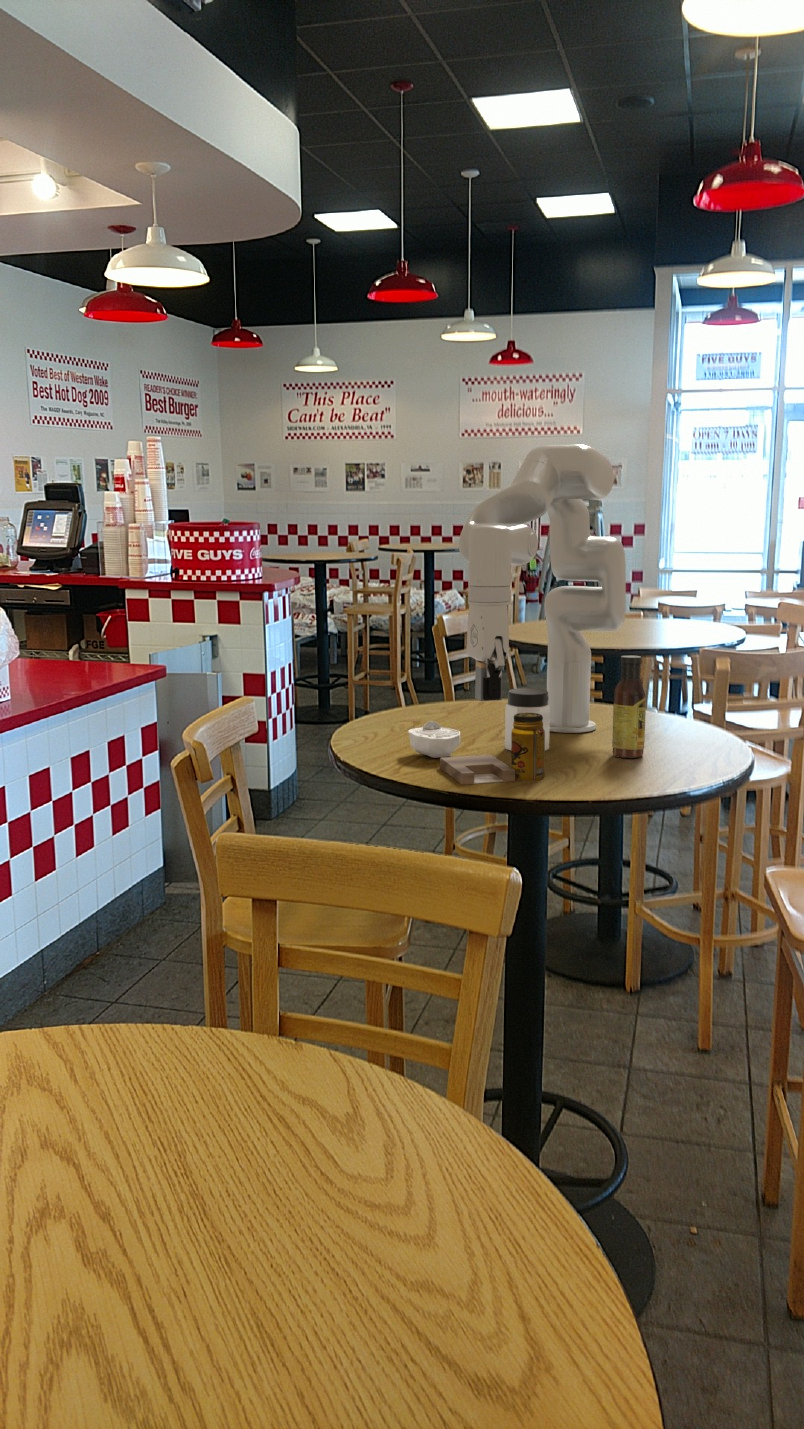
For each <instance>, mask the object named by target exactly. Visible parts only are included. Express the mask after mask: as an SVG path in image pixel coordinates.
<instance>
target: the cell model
mask: <svg viewBox="0 0 804 1429" xmlns="http://www.w3.org/2000/svg"><path fill="white" fill-rule="evenodd" d="M407 733H408V735H409V743H410V747H411V748H412V749H413V750H414V751H415V752H416V753H418V754H421V755H424V756H428V757H430V758H433V759H436V758H437V759H439V758H445V757H450V756H451V755H453V753H454V752H455V750H456V749H457V748H458V747H459V746H460V745H461V740H462V739H461V731H460V730H457V729H453V728H450V727H444V726H440V724H439V723H438V722H437V721H434V720H429V721H427V722H426V723H424V725H423V726H421V727H416V728H411V729H408V731H407Z"/></svg>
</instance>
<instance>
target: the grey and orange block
mask: <svg viewBox="0 0 804 1429" xmlns="http://www.w3.org/2000/svg"><path fill="white" fill-rule="evenodd" d="M475 661H476V660H475ZM491 665H492V664H490V667H491ZM474 676H475V679H474V680H475V683H474V687H475V688H474V699H476V700H477V701H479V702H490V701H491V702H492V701H496V700H484V699H483V678H485V661H476V663H475V675H474ZM502 694H503V676H502V677H501V698H500V699H499V700H498V701H503V700H502V696H503V695H502Z"/></svg>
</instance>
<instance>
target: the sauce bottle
mask: <svg viewBox="0 0 804 1429" xmlns="http://www.w3.org/2000/svg"><path fill="white" fill-rule="evenodd" d="M642 662H643V660H642V656H641V655H640V656H639V655H621V656H620V680H619V681H618V683H617V684H616V686H615V689H614V692H613V693H614V694H613V695H614V698H613V699H614V700H613V710H612V711H613V714H612V743H611V744H612V746H611V747H612V754H613V756H615V757H616V758H621V759H625V758H626V759H635V758H636V759H637V758H641V757H643V755H644V749H645V737H646V736H645V735H646V734H645V733H646V711H647V710H646V706H647V695H646V692H645V689H644V686H643V682H642V679H641V665H642Z"/></svg>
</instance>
